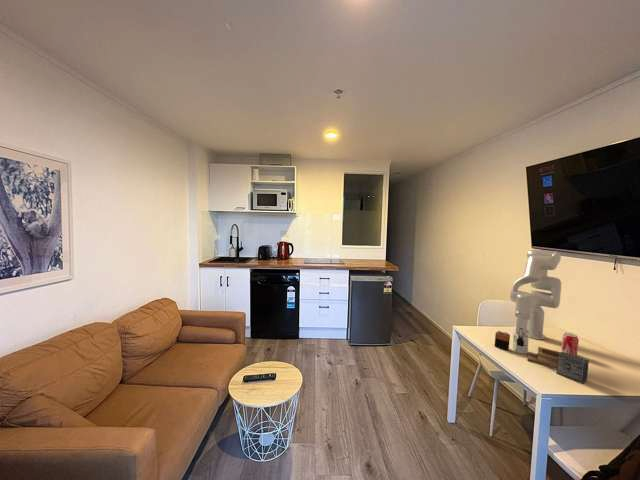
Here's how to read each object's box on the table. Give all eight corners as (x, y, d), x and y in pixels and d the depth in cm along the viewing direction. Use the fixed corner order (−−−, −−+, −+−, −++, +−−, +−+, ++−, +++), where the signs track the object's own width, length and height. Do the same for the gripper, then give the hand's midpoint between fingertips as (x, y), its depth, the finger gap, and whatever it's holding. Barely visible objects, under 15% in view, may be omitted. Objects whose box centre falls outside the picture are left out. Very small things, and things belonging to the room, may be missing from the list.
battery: (507, 350, 163) (508, 334, 163) (494, 346, 168) (495, 331, 168) (509, 348, 166) (510, 332, 166) (496, 344, 171) (497, 329, 171)
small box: (587, 380, 134) (589, 359, 133) (583, 384, 131) (585, 363, 130) (560, 370, 143) (562, 351, 142) (555, 373, 139) (557, 354, 139)
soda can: (560, 350, 166) (562, 331, 165) (575, 353, 162) (577, 334, 161) (562, 354, 160) (563, 335, 159) (578, 358, 156) (580, 338, 155)
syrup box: (528, 354, 160) (529, 330, 159) (516, 352, 161) (518, 329, 160) (522, 349, 165) (524, 326, 164) (512, 348, 167) (513, 325, 166)
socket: (528, 353, 160) (528, 344, 160) (574, 365, 148) (574, 355, 147) (527, 360, 152) (528, 351, 151) (576, 374, 139) (577, 363, 139)
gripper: (516, 310, 171) (513, 337, 172) (514, 317, 157) (511, 346, 158) (531, 312, 166) (528, 340, 167) (530, 320, 153) (527, 350, 154)
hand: (520, 343), depth 163 cm, fingers closed on syrup box, 7 cm apart
